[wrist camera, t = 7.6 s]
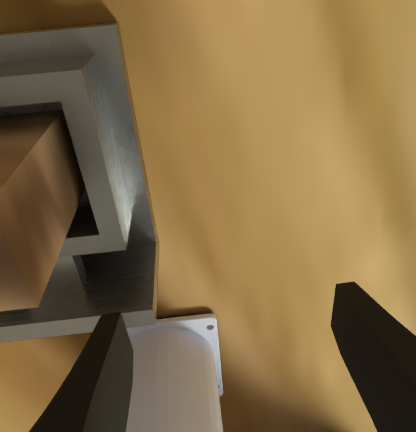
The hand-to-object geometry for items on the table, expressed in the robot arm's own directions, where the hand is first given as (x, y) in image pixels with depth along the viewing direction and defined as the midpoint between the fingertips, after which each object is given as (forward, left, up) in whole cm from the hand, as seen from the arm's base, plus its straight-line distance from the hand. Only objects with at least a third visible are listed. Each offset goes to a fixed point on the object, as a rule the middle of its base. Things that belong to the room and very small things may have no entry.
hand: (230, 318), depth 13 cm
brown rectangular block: (+3, +8, -8) cm, 12 cm away
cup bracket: (+2, +8, -9) cm, 13 cm away
